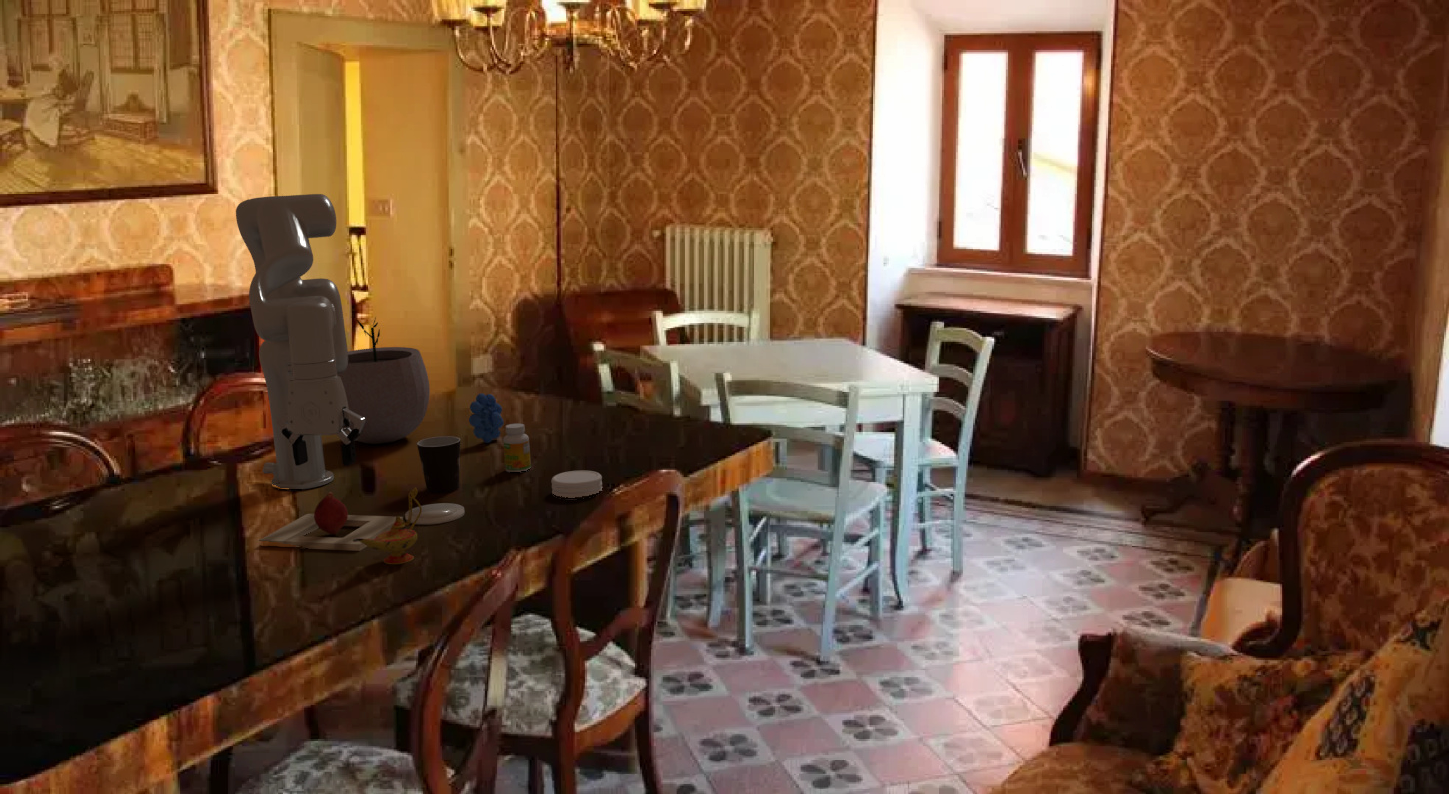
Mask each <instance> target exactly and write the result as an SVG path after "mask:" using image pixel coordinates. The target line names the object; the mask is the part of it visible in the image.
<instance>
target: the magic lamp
mask: <svg viewBox="0 0 1449 794" xmlns="http://www.w3.org/2000/svg"><path fill="white" fill-rule="evenodd" d="M417 495H418V489H417V487H414V488H412V489H411V490H410V491H409V493H408V511H409V515H411V516H408V517H409V518H410V519H409V518H408V520H407V521H406V520H404V519H403V520H402V519H400V517H401V516H399V515H398V516H395V517H396V520H395V523H394V524H393V525H392V527H391V530H390V531H386V532H384V533H381V534H379V535H378V536H377V537H376V538H375V539H373V540H371V539H354V540H353V542H357V541H359V542H361V543H363V544H365V545H366V546H367V547H368V548H370V549H373V550H374V551H375V550H376V551H379V552H387V553H388V552H389V553H390V554H389V555H388V556H386V557H385V558H384V559H383V563H385V564H387V565H402V564H406V563H409V562H411V561H413V560H414V559H415V557H414V555H412V554H409V553H408V552H406V551H405V550H407V549H410V548H411V547H412V546H414V544H415V543H416V542H417V541H418V533H417V532H416V531H415V530H414V529H413V528H414V526H415V525H416V524H415V523H416V522H417V520H418V518H419V517H420V515H421V511H422V508H421V506H422V505H421V504H420V502H419V501H418V500H417V499H416V497H417ZM413 501H414V502H415V503H416V504H417V506H418V507H419V508H420V512H419V515H418V516H417V518H416V520H415V521H414V523H413V524H412V523H410V522H411V518H412V509H413ZM410 513H411V514H410ZM401 521H403V522H401ZM405 521H406V522H405ZM410 524H411V525H410ZM409 525H410V527H409V528H407V527H406V526H409Z"/></svg>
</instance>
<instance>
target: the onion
mask: <svg viewBox="0 0 1449 794" xmlns="http://www.w3.org/2000/svg"><path fill="white" fill-rule="evenodd" d="M313 514H314V519H315V522H316V524H317V525H318V527H319V528H318V529H321V531H323V532H325V533H328V534H329V535H332V536H334V535H337V534H338V532H339V531H340V530H341V529H342V528H343V527H345V526H344V524H345V523H346V521H347V518H348V515H349V513H348V509H347V507H346V505H345V504H344V503H343V502H342V501H341V500H340V499H338V498H336V497H334V494H333V492H332V491H331V492H328V493H327V494H326V495H325V497H323V498H322V499H321V500H320V501H319V502H318V504H317V506H316V507H315V509H314V513H313Z"/></svg>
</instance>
